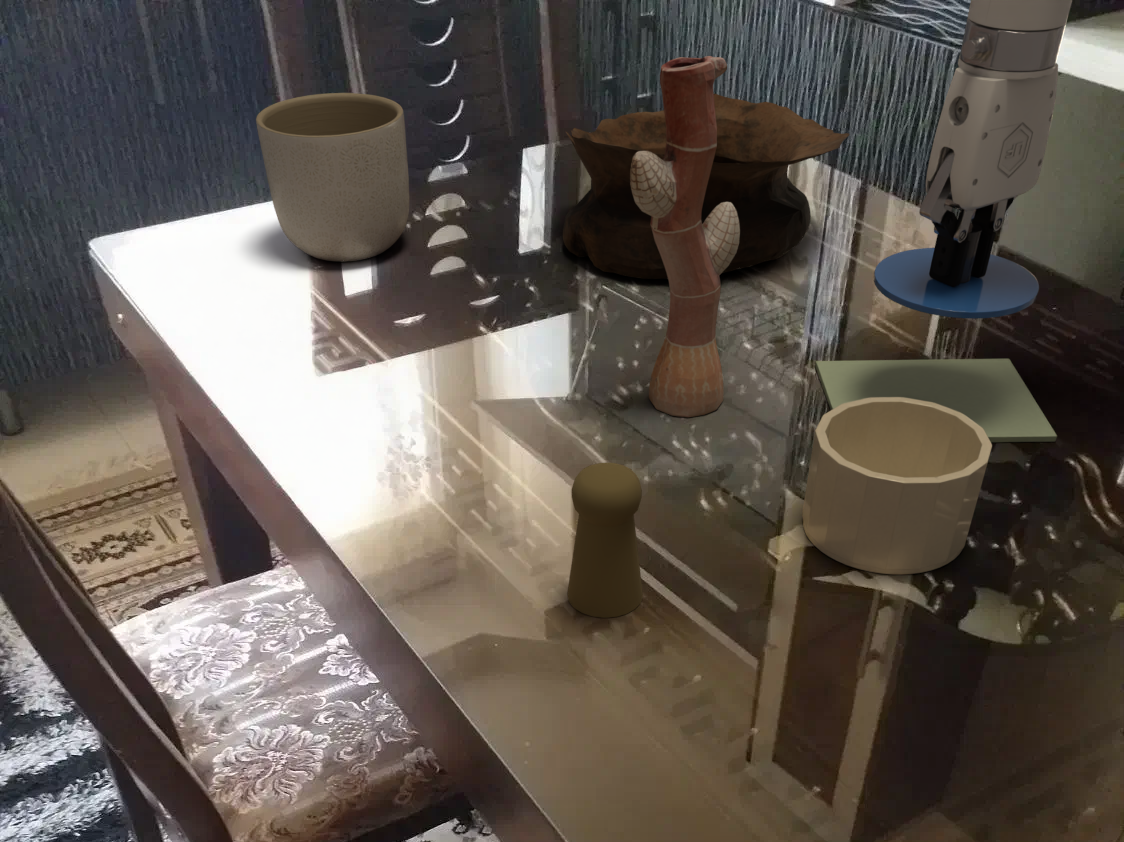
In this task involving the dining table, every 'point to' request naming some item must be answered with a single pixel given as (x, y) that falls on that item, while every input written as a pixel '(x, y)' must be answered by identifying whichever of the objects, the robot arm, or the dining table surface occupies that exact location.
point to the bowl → (736, 176)
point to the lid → (972, 298)
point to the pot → (894, 484)
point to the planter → (337, 172)
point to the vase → (687, 237)
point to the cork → (605, 542)
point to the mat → (946, 391)
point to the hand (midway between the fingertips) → (956, 275)
